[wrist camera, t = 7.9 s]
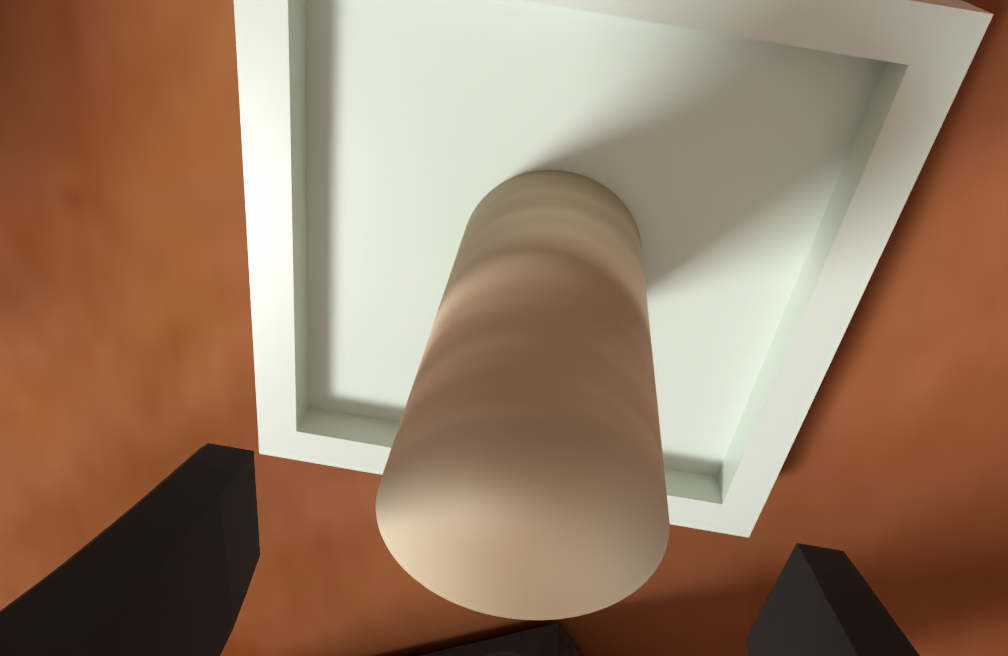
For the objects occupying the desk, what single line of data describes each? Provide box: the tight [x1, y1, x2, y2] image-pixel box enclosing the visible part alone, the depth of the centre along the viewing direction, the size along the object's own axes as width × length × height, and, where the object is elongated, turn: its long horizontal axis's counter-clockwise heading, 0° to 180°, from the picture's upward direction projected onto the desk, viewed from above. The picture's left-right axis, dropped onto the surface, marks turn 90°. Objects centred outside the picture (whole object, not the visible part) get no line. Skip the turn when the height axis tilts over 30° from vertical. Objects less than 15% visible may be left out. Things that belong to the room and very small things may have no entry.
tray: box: [234, 0, 994, 538], centre depth 17 cm, size 13×13×2 cm
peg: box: [376, 170, 669, 620], centre depth 14 cm, size 4×4×8 cm
